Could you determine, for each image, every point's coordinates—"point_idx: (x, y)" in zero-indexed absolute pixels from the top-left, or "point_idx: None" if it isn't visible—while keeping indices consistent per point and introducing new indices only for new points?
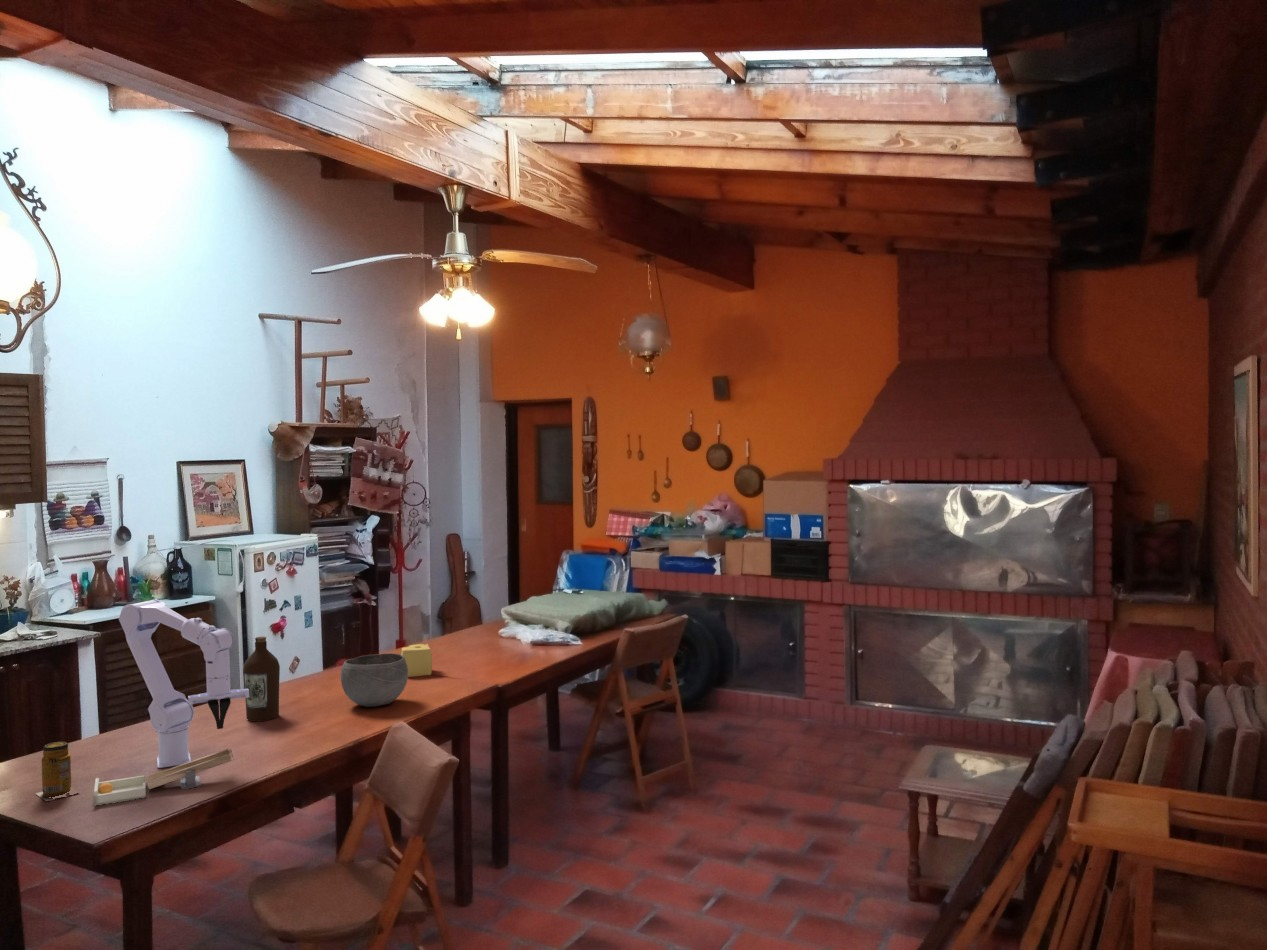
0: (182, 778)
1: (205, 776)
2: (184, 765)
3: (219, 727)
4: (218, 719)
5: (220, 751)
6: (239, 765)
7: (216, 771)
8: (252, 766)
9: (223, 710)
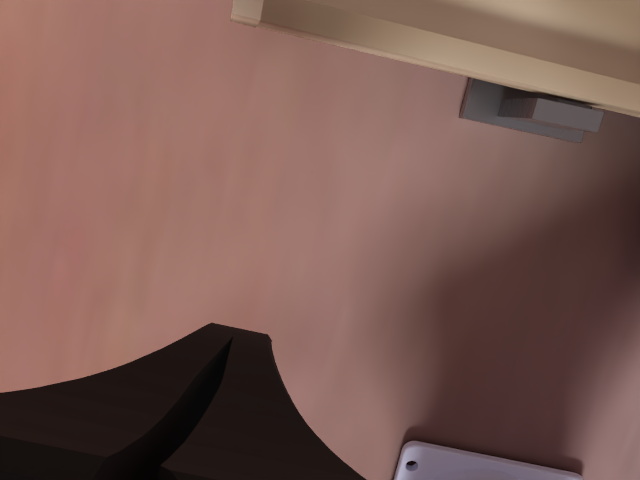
0: (566, 138)
1: (415, 128)
2: (621, 83)
3: (245, 333)
4: (239, 371)
5: (332, 28)
6: (175, 206)
7: (328, 184)
8: (108, 123)
9: (105, 403)
